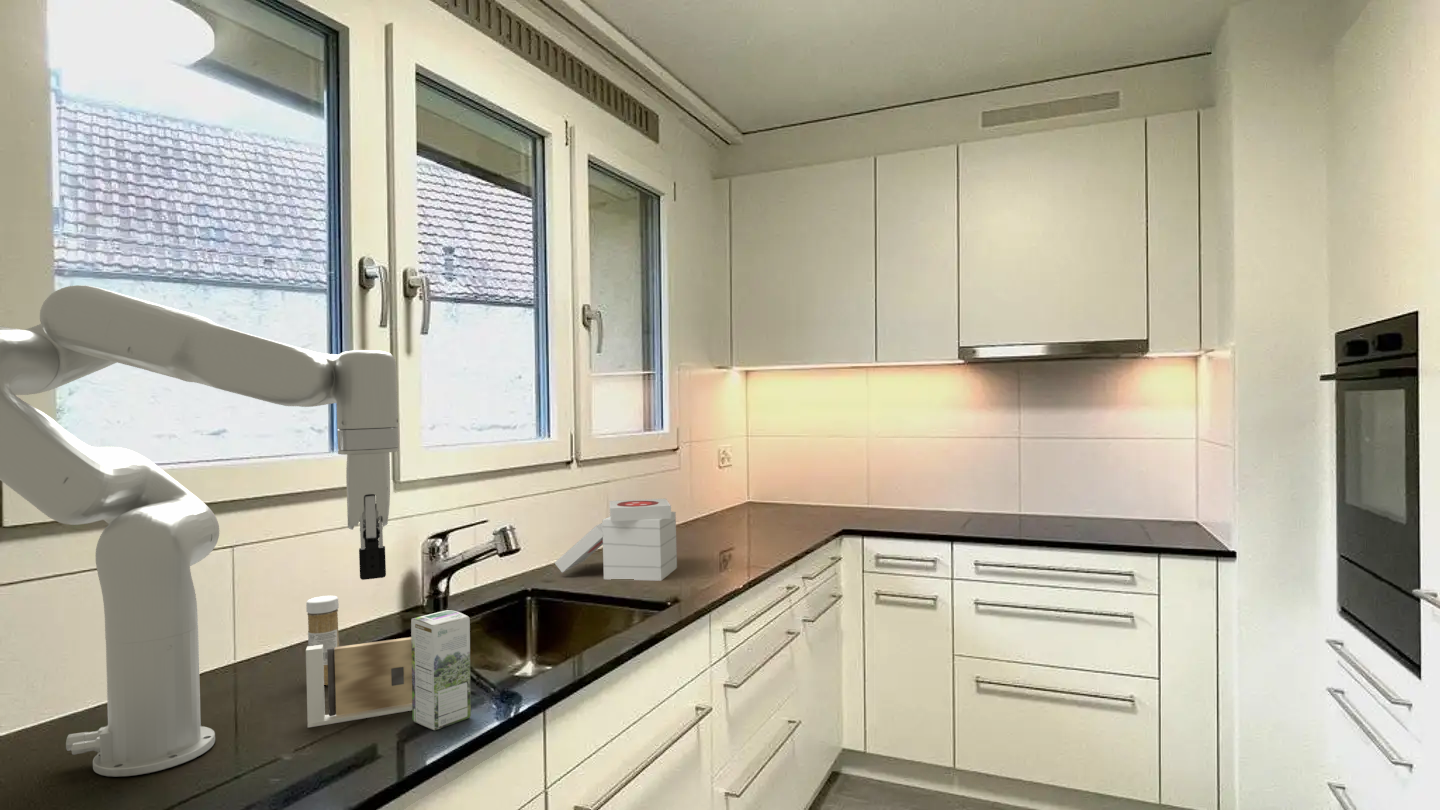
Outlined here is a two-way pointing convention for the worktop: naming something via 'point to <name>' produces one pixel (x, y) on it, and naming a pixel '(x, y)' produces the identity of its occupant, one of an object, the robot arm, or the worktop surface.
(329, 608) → the sprinkles bottle
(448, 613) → the syrup box
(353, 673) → the door
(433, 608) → the worktop surface
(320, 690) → the door frame
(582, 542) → the stacked pizza boxes
